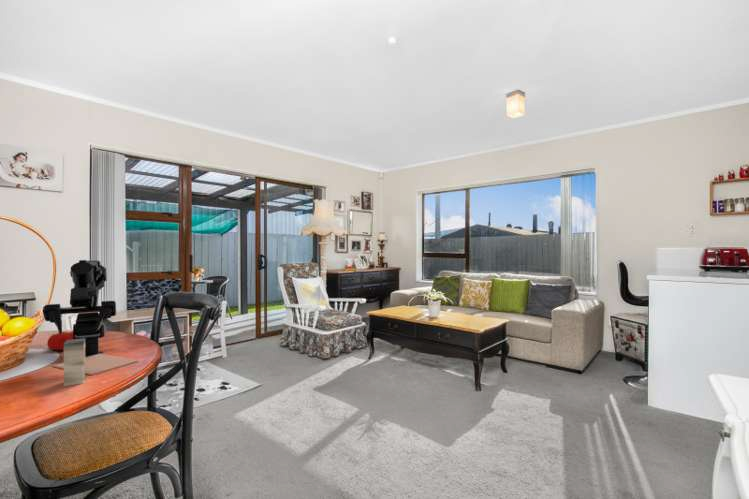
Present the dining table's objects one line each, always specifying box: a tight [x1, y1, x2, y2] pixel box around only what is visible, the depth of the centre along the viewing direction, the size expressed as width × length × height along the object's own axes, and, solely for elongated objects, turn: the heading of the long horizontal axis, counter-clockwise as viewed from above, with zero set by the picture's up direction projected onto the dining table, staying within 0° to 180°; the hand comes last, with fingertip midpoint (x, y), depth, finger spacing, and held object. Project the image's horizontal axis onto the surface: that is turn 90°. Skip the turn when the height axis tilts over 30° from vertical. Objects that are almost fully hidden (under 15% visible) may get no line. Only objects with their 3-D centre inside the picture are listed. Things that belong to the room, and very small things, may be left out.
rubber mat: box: [52, 353, 139, 377], centre depth 126 cm, size 21×15×1 cm
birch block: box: [63, 339, 86, 387], centre depth 109 cm, size 4×4×12 cm
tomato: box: [46, 331, 73, 351], centre depth 144 cm, size 10×11×6 cm
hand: (78, 331), depth 116 cm, fingers open, 9 cm apart
